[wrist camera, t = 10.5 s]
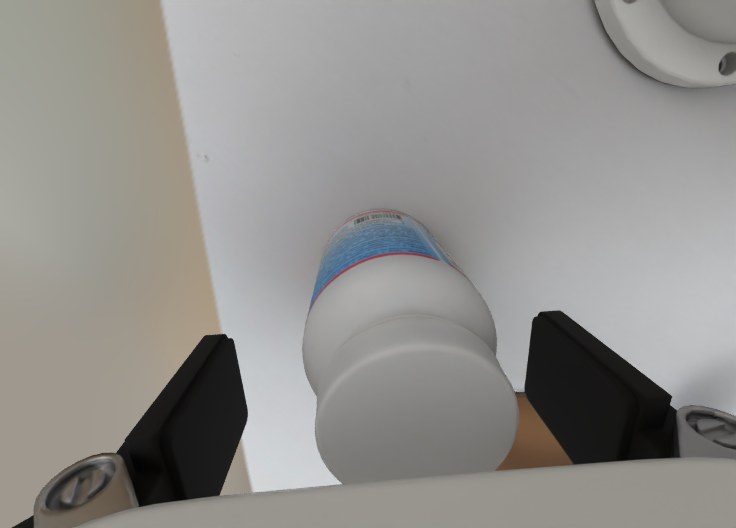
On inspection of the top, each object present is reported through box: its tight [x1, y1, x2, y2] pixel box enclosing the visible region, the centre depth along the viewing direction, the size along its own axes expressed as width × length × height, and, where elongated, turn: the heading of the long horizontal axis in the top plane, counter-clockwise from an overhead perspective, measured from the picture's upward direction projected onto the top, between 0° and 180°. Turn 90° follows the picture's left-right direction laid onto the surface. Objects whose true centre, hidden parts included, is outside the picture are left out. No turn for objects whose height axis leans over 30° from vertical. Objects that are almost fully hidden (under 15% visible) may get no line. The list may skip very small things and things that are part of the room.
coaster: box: [495, 393, 574, 471], centre depth 23 cm, size 10×10×1 cm
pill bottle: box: [302, 209, 519, 484], centre depth 13 cm, size 6×6×11 cm
